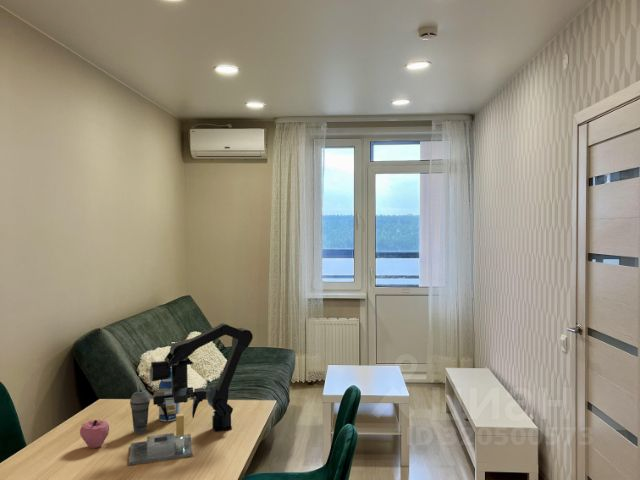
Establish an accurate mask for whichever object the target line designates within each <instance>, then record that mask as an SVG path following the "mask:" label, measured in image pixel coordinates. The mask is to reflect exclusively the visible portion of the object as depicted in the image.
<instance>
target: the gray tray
mask: <svg viewBox="0 0 640 480" xmlns="http://www.w3.org/2000/svg"><path fill="white" fill-rule="evenodd" d="M187 457H193V448H192V436H191V433H188V434H184V435H179V436H176V435H175V434H174V432H171V433H164V434H163V433H161V434H155V435H148V436H146V440H145V441H138V442H131V443H130V449H129V457H128V465H129V466H134V465H140V464H142V465H143V464H147V463H155V462H162V461H168V460H175V459H182V458H187Z"/></svg>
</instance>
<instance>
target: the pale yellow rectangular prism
mask: <svg viewBox="0 0 640 480" xmlns="http://www.w3.org/2000/svg"><path fill="white" fill-rule="evenodd" d="M184 416H185V414H184V413H183V412H181V413H180V414H176V420H175V436H179V435H185V421H184V420H185V417H184Z"/></svg>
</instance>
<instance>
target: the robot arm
mask: <svg viewBox="0 0 640 480" xmlns="http://www.w3.org/2000/svg"><path fill="white" fill-rule="evenodd" d="M253 335H254V334H253V333H252V332H251V330H249V329H247V328H245V327H238V328H237V327H234V326H231V325H229V324H227V323H225V322H222V323H219V324H218V325H217V326H214V327H212V328H211V329H208V330H207V331H205V332H202V333H200V334H198V335H196V336H194V337H192V338H187V339H182V340H179V341H176V342H174V343H172V344H171V346H170V348H169V351H168V353H167V355H166V356H165V357H164V360H160V361H151V362H150V368H149V379H150V382H157V381H161V380H165V379H168V377H170V375H171V373H172V394H168V395H165V394H164V392H160V393H158V392H154V393H153V395H152V396H153V397H152V399H153V404H152V405H154V406H157V407H158V408H159V406H160V407H161V408H162V410H163V412H164V415H165V418H166V420H167V421H166V422H169V421H168V415H167V408H166V402H165V400H171V399H174V403H176V404H177V403H180V404H182V403H188V401H189V399H191V398H193V401H192V410H191V411H192V412H191V414H192V419H193V418H194V417H195V414H196V411H197V408H198V405H199V404H200V403H202V402H203V401H204V400H206V399H207V403H208V405H209V407H211V408H212V410H213V415H212V416H211V417H212V419H211V422H212V424H211V425H212V428H213V430H214V432H222V431H228V430H233V426H232V413H233V411H234V408H233V407H232V406H231V405H230V404H229V403H228V401H229V397H230V395H229V392H230V386H231V383H232V381H233V378H234V375H235V373H236V371H237V368H238V366H239V363H240V360H241V359H242V356H243V353H244V352H245V351H246V350H247V349H248V348H249V346H250V345H251V343H252V340H253V337H254V336H253ZM223 336H229V337H231V338H232V339H231V349H230V352H229V354H228V358H227V360H226V362H225V365H224V367H223V369H222V372H221V374H220V376H219V379H218V382H217V384H216V385H214V386H210V388H209V392H208V394H207V391H206V388H204V387H198V388H194V387H193V386H191V387H190V386H188V381H189V380H188V365H194V362H193V361H192V360H191V359H190V358H189V357H190V356H191V355H193V354H194V353H195V351H196V350H198V349H199V348H202V347H203V346H206V345H207V344H209V343H212V342H213V341H216V340H217V339H219V338H222V337H223Z"/></svg>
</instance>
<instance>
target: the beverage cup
mask: <svg viewBox="0 0 640 480" xmlns="http://www.w3.org/2000/svg"><path fill="white" fill-rule="evenodd" d="M138 380H139V379H138V378H136V379H135V381H136V387H137V391H135V392H134V393H133V394H132V395H131V397H130V400H129V401H130V402H129V405H130V408H131V419H132V426H133V427H132V428H133V433H134V434H136V435H141V434H145V433H147V431H148V430H147V429H148V421H149V419H148V418H149V409H150V402H151V399H150V396H149V395H150V394H149V393H148V392H147V391H145V390H143V389H139V388H140V387H139V381H138Z"/></svg>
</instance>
